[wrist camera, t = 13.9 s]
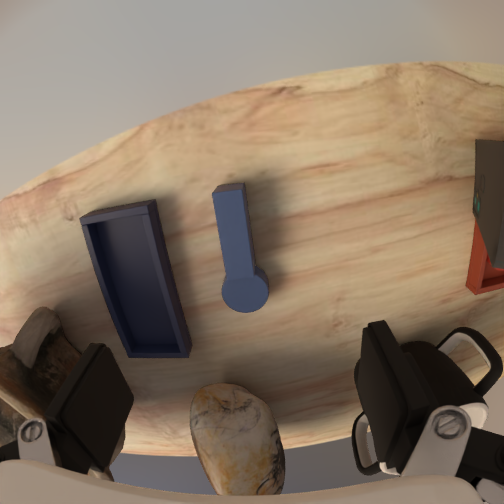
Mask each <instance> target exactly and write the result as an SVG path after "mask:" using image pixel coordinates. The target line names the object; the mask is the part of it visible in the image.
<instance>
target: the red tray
mask: <svg viewBox="0 0 504 504" xmlns="http://www.w3.org/2000/svg"><path fill="white" fill-rule="evenodd" d="M486 259H487V250H486V247H485V244H484V241H483V238H482V235H481V232H480V230H479V227H478V224H477V222H476V219H475V228H474V237H473V245H472V252H471V259H470V265H469V271H468V277H467V282H466V287H467V288H469V290H470V291H472V292H473V293H474V294H475V295H477V294H481V293H485V292H489V291H493V290H497V289H501V288H504V270H503V271H499V270H497V269H496V268H494V267H492V266H491V264H489V263H488V262H487V261H486Z"/></svg>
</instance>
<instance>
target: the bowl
mask: <svg viewBox="0 0 504 504" xmlns="http://www.w3.org/2000/svg"><path fill="white" fill-rule="evenodd" d="M81 356H82V355H81V354H80V353H79V352H78V351H77V350H76V349H75V348H74V347H73V346H72V345H71V344H70V343H69V342H68V341H67V340H66V338H65V337H64V334H63V331H62V326H61V323H60V320H59V317H58V315H57V314H56V313H55V312H54V311H53V310H51V309H49V308H47V307H40V308H38V309H36V310H35V311H34V312H33V313H32V315H31V316H30V317H29V318H28V320H27V321H26V322H25V324H24V325H23V327H22V328H21V330H20V331H19V333H18V334H17V336H16V338H15V340H14V343H13V344H10V345H8V346H5V347H1V348H0V447H1V446H3V445H6V444H8V443H10V442H13V441H15V440H17V439H18V438H17V434H18V430H19V427H20V426H21V425H22V424H23V423H24V422H25V421H26V420H28V419H30V418H34V417H36V418H41V419H43V420H44V421H45V422H46V420H47V418H46V417H45V416H44V413H45V412H46V410H47V408H48V407H49V405H50V404H51V402H52V400H53V399H54V397H55V396H56V394H57V392H58V391H59V389H60V388H61V386H62V385H63V383H64V381H65V380H66V378H67V377H68V375H69V374H70V372H71V371H72V369H73V368H74V366H75V365H76V363H77V362H78V360H79V359H80V357H81ZM124 440H125V425H124V427H123V430H122V432H121V435H120V437H119V440H118V443H117V445H116V448H115V450H114V453H113V456H112V458H111V461H110V464H109V465H108V466H107V467H105V470H104V472H103V473H101V472H97V471H93V470H91V469H89V471H88V472H89V475H90V476H92V477H96V478H100V479H104V480H108V481H112V482H114V479H113V476H112V473H111V471H110V470H109V466H110V465H111V464H112V462H113V461H114V460H115V458H116V457H117V456H118V454H119V453H120V452H121V450H122V449H123V445H124Z"/></svg>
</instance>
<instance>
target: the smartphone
mask: <svg viewBox="0 0 504 504" xmlns="http://www.w3.org/2000/svg"><path fill="white" fill-rule="evenodd" d="M475 145H476V155H475V185H474V199H473V214H474V217H475V219H476V222H477V224H478V227H479V230H480V232H481V235H482V238H483V241H484V244H485V247H486V250H487V253H488V256H489V259H490V262H491V266H492V267H494V268H499V269H504V141H492V140H477V139H476V140H475Z"/></svg>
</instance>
